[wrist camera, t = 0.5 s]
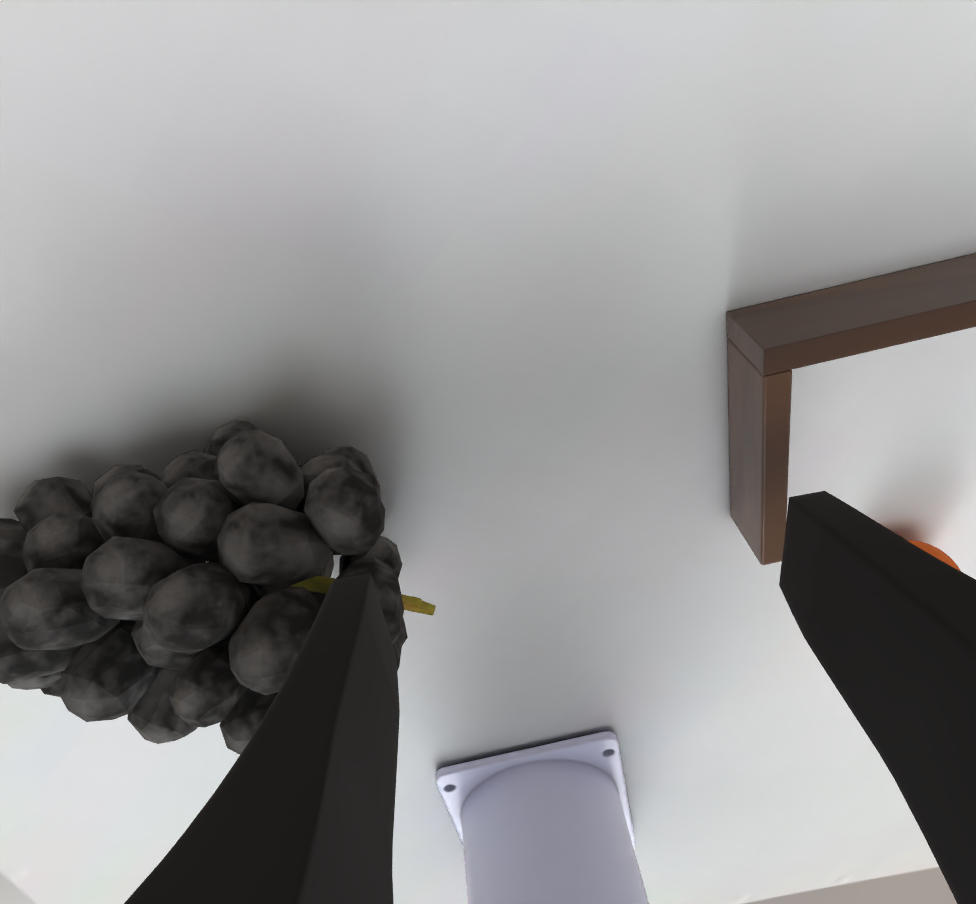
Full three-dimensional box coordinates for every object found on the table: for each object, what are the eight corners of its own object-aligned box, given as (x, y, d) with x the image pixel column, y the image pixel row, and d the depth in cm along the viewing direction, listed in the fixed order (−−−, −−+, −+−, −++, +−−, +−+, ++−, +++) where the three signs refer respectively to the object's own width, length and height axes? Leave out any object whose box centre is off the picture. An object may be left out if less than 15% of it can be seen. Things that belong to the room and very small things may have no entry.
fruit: (-233, 891, 16) (447, 798, 16) (-397, 541, 14) (391, 442, 14) (3, 674, 24) (448, 615, 24) (-75, 435, 22) (413, 374, 22)
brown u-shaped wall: (1059, 441, 25) (1122, 484, 23) (729, 516, 25) (761, 566, 23) (1124, 217, 21) (1210, 245, 18) (725, 311, 21) (764, 350, 19)
